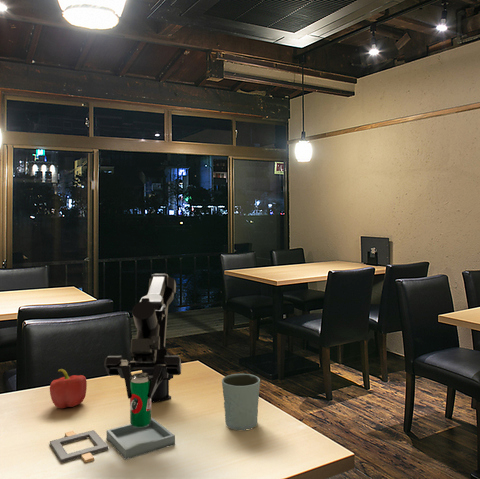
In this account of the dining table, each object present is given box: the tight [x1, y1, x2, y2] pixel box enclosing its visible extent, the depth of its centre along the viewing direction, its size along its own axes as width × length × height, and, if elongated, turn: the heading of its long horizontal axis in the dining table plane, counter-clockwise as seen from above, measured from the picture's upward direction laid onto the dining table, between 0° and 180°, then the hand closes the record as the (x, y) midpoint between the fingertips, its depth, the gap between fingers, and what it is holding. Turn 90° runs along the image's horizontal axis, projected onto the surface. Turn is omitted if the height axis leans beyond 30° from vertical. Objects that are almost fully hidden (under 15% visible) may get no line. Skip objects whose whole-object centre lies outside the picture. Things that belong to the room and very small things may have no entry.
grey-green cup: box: [221, 373, 261, 431], centre depth 120 cm, size 10×10×12 cm
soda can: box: [129, 372, 152, 428], centre depth 109 cm, size 5×5×12 cm
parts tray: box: [106, 417, 176, 460], centre depth 109 cm, size 12×12×2 cm
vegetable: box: [49, 368, 88, 409], centre depth 132 cm, size 11×10×10 cm
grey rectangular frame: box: [49, 429, 109, 464], centre depth 107 cm, size 11×17×1 cm, turn 36°
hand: (139, 397), depth 108 cm, fingers closed on soda can, 5 cm apart
